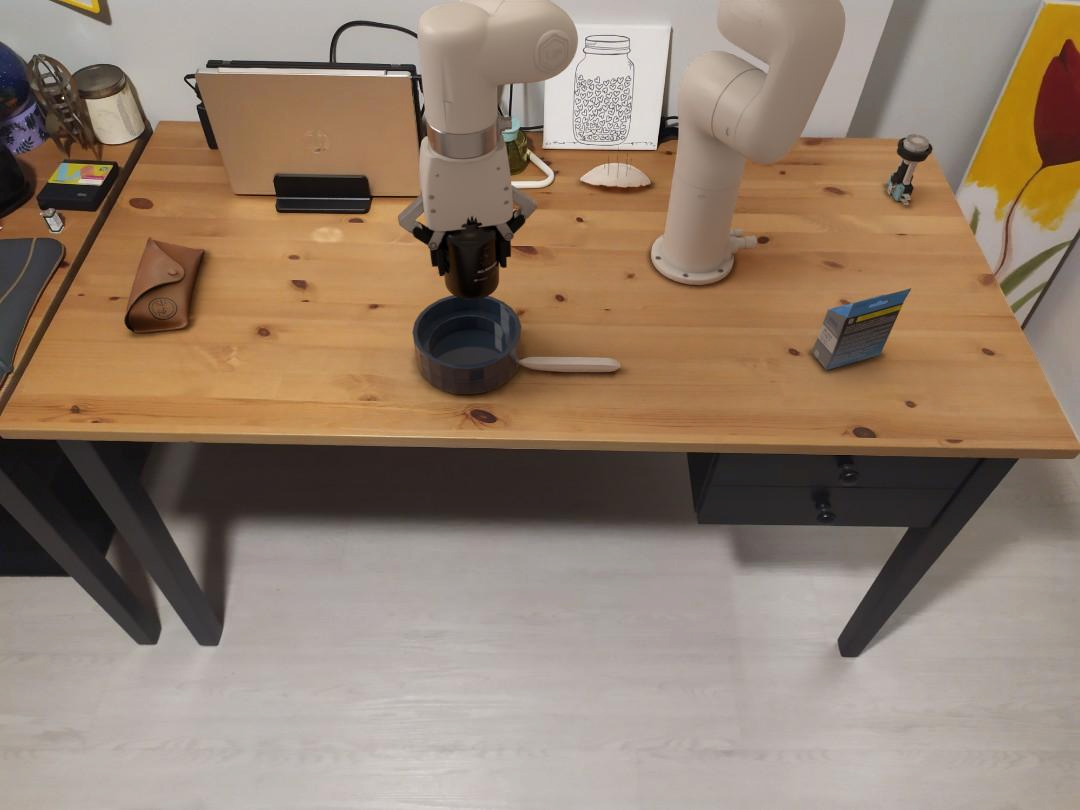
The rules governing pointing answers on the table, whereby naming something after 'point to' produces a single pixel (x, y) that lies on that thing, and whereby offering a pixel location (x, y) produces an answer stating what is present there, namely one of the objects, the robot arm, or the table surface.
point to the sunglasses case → (162, 288)
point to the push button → (908, 165)
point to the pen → (571, 364)
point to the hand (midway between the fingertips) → (471, 263)
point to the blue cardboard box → (857, 330)
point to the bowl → (467, 344)
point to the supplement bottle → (471, 260)
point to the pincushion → (616, 175)
